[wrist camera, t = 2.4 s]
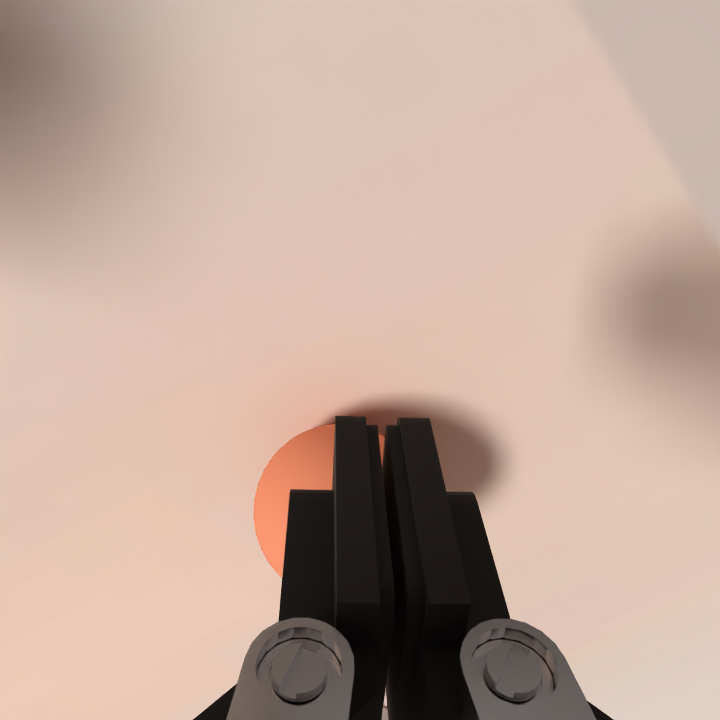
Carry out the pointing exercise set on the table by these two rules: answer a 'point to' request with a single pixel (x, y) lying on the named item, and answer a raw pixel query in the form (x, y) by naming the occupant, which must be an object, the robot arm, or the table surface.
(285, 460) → the ball
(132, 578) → the table surface
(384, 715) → the pin
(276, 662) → the robot arm
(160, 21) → the table surface
